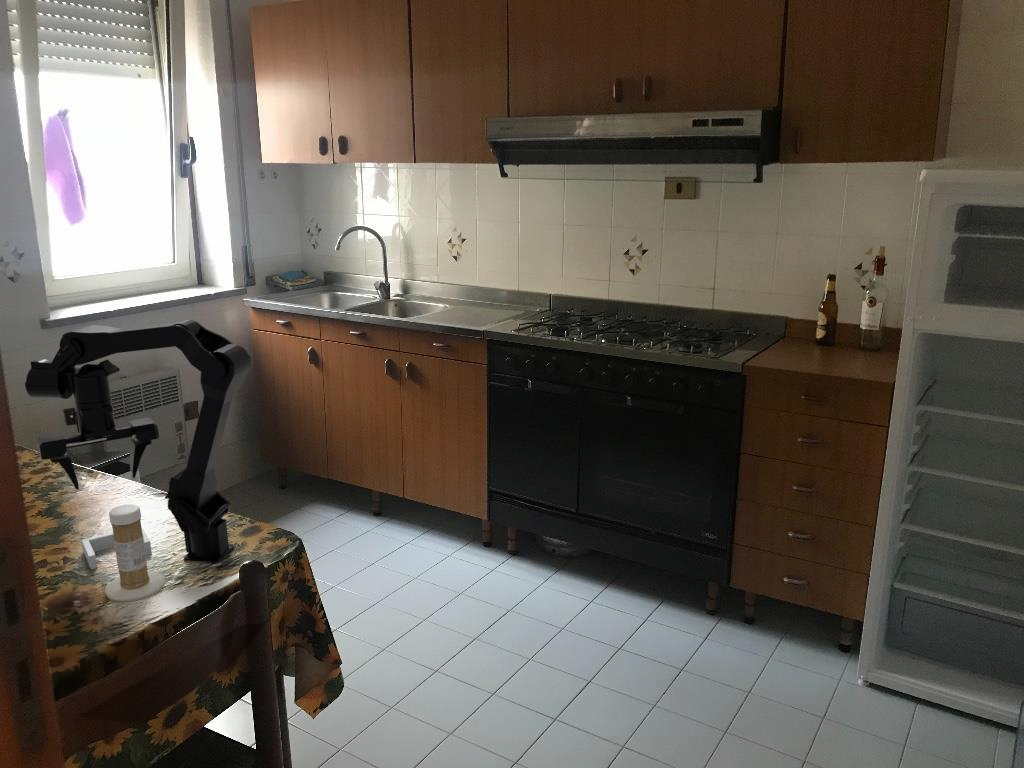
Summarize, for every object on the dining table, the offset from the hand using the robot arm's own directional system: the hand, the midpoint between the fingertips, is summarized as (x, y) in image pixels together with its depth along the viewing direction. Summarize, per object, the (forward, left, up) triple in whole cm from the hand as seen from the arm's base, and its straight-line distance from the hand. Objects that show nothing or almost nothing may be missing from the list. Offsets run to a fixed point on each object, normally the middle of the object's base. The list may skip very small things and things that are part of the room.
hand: (105, 483), depth 148 cm
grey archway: (-2, +2, -13) cm, 13 cm away
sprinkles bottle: (-12, +12, -12) cm, 21 cm away
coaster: (-12, +12, -13) cm, 22 cm away
